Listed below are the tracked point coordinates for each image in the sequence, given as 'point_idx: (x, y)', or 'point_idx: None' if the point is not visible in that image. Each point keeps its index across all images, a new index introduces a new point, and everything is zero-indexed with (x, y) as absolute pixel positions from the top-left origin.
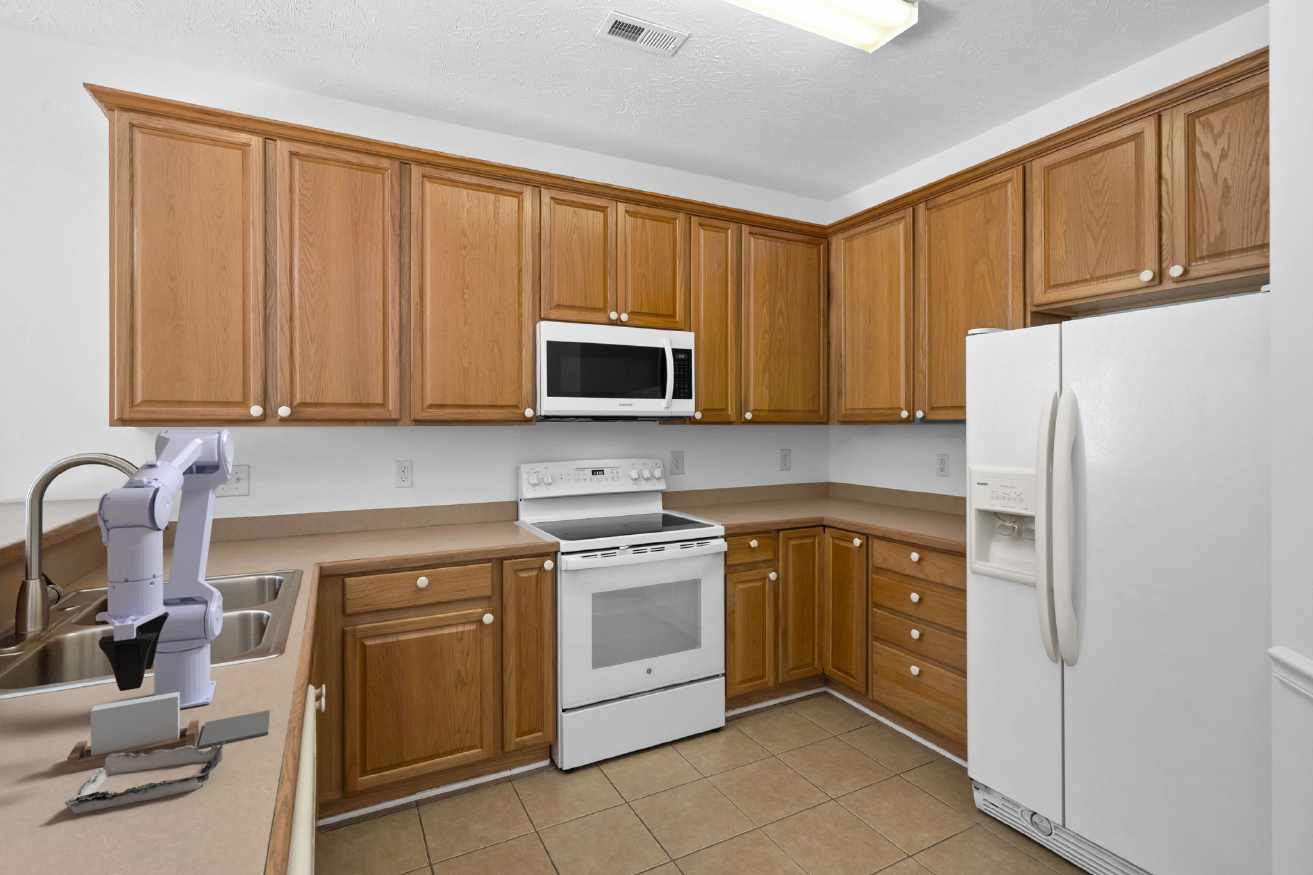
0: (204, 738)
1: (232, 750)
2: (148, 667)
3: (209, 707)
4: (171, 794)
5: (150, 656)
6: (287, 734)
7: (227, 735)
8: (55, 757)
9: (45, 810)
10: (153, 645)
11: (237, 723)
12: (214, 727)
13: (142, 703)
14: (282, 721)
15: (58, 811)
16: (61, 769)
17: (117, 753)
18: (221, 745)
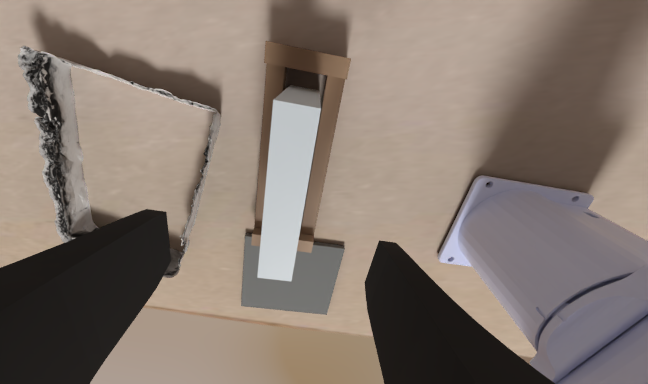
0: None
1: (211, 265)
2: (368, 281)
3: (422, 254)
4: (87, 195)
5: (375, 322)
6: (227, 317)
7: None
8: (384, 14)
9: (104, 11)
10: (389, 376)
11: (302, 281)
12: (309, 257)
13: (263, 215)
14: (279, 318)
15: (90, 36)
16: (303, 30)
17: (262, 132)
18: None
